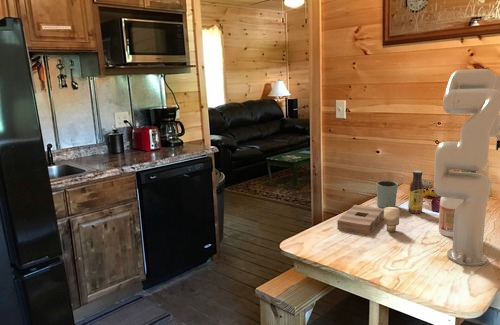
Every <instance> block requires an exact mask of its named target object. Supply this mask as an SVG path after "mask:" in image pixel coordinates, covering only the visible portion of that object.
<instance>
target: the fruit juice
mask: <svg viewBox="0 0 500 325" xmlns="http://www.w3.org/2000/svg"><path fill="white" fill-rule="evenodd" d="M449 171H457V172H463V170H458V169H450V170H449ZM439 200H440V201H439V212H438V213H439V216H438V232H439V234H441V235H443V236H445V237H450V238H453V229H454V212H455V209H456V207H457V206H458V205H459V204H460V203H461V202H463V201H464V200H461V199H455V198H447V197H441V196H440V198H439Z"/></svg>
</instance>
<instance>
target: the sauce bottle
mask: <svg viewBox="0 0 500 325" xmlns="http://www.w3.org/2000/svg"><path fill="white" fill-rule="evenodd" d="M422 175H423V171H422V170H413V171H412V181H411V182H410V185H409V192H408V205H407V206H408V209H407V210H408V212H409V213H411V214H420V213H422V212H423V205H424V203H423V202H424V191H425V188H424V185H423V181H422V180H423V179H422Z"/></svg>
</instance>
